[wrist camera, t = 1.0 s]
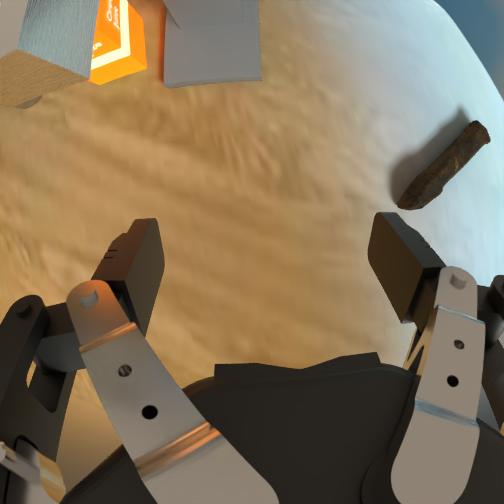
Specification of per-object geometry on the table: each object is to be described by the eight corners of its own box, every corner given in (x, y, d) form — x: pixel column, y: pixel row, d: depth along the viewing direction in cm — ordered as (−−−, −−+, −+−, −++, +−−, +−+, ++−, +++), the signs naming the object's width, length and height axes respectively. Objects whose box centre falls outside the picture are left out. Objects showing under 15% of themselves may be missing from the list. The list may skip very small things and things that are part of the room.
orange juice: (143, 18, 31) (77, -54, 12) (147, 68, 34) (69, 8, 14) (95, 36, 32) (14, -15, 13) (97, 86, 34) (3, 49, 15)
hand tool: (467, 120, 34) (485, 117, 30) (479, 143, 35) (497, 142, 30) (385, 189, 38) (399, 192, 33) (400, 213, 38) (415, 219, 34)
